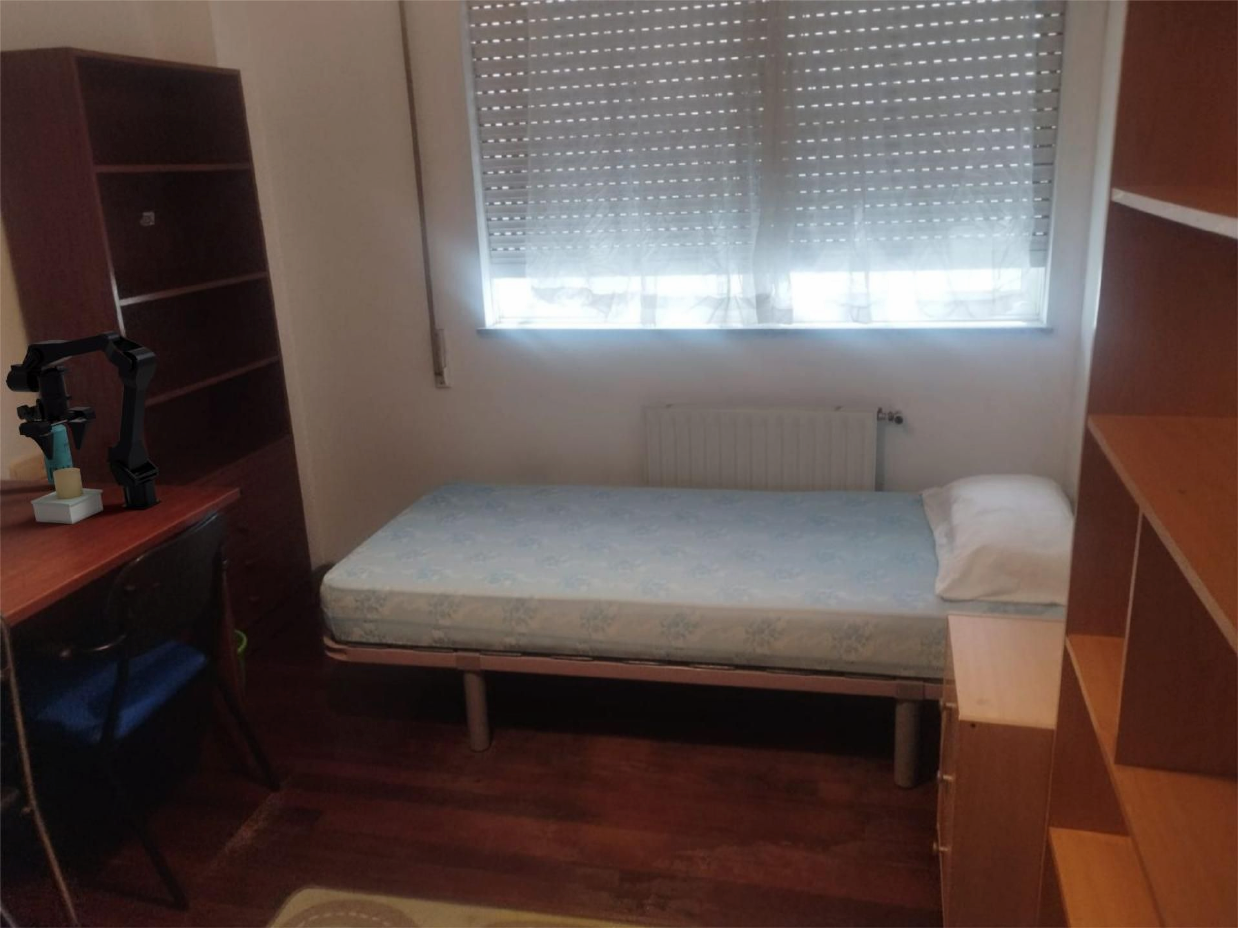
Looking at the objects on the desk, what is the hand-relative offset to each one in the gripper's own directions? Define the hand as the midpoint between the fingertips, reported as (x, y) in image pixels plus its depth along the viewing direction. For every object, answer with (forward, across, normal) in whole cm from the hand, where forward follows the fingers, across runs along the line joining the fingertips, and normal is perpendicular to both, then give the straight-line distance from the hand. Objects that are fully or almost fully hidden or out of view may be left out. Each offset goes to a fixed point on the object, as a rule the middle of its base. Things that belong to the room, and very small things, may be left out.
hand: (64, 454), depth 238 cm
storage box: (+12, +10, +8) cm, 18 cm away
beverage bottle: (+12, -10, -12) cm, 20 cm away
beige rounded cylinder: (+7, +10, +9) cm, 15 cm away
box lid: (+7, +10, +8) cm, 15 cm away
